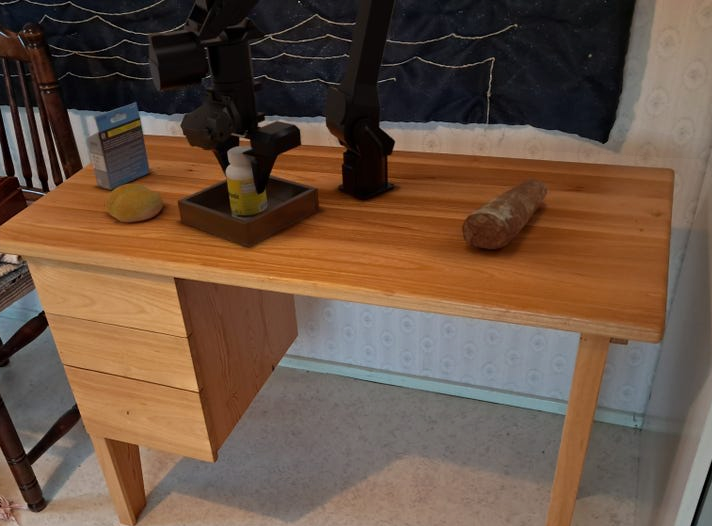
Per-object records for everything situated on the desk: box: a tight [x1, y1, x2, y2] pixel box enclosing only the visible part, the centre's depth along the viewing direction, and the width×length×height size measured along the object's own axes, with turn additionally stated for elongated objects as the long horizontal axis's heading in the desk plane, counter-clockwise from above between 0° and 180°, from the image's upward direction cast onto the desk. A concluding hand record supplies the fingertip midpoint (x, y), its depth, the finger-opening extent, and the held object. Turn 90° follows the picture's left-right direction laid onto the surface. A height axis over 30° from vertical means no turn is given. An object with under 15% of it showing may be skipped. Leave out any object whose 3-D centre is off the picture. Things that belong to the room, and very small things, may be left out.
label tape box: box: [86, 101, 151, 191], centre depth 123 cm, size 9×4×12 cm, turn 141°
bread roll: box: [104, 183, 164, 223], centre depth 113 cm, size 8×9×4 cm
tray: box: [177, 174, 320, 248], centre depth 109 cm, size 15×15×4 cm
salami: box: [461, 178, 548, 250], centre depth 98 cm, size 6×19×6 cm, turn 144°
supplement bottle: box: [225, 145, 268, 221], centre depth 107 cm, size 5×5×10 cm
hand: (246, 188), depth 107 cm, fingers closed on supplement bottle, 5 cm apart
